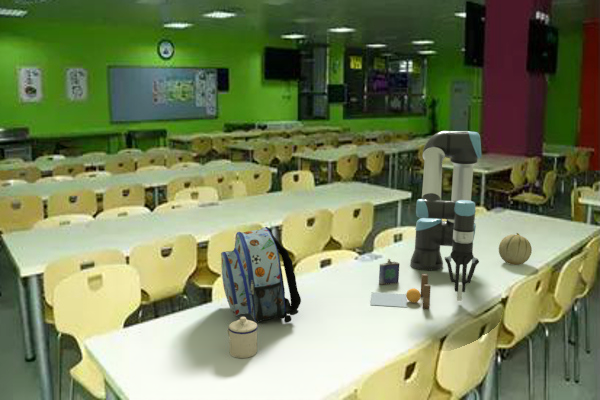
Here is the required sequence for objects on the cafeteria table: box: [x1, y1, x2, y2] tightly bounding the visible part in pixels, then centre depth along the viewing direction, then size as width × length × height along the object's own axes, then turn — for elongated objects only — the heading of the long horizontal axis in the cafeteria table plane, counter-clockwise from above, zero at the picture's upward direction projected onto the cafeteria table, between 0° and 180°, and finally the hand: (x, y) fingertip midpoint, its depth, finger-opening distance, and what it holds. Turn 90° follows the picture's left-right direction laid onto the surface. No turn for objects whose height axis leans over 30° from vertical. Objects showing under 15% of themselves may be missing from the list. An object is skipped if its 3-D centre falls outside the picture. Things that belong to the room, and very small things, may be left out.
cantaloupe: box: [498, 232, 532, 266], centre depth 270 cm, size 15×15×15 cm
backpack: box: [220, 226, 302, 324], centre depth 208 cm, size 33×25×31 cm
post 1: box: [420, 273, 429, 298], centre depth 227 cm, size 3×3×9 cm
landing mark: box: [370, 291, 408, 308], centre depth 224 cm, size 14×14×1 cm
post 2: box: [422, 284, 431, 310], centre depth 215 cm, size 3×3×9 cm
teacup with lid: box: [227, 316, 258, 359], centre depth 178 cm, size 12×9×12 cm
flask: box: [378, 258, 400, 286], centre depth 242 cm, size 9×3×11 cm, turn 109°
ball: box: [405, 287, 422, 303], centre depth 221 cm, size 6×6×6 cm
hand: (459, 299), depth 219 cm, fingers closed
